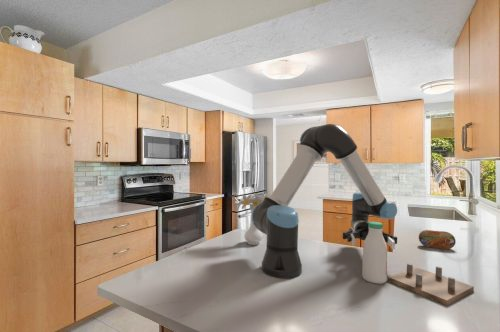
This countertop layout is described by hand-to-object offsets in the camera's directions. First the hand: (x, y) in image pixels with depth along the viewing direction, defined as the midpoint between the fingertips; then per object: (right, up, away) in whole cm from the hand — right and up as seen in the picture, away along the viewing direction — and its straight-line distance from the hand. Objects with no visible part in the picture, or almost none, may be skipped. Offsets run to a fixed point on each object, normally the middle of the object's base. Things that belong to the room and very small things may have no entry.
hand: (373, 243), depth 98 cm
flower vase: (-45, -10, +33) cm, 57 cm away
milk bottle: (-2, -11, -5) cm, 13 cm away
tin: (+46, -12, +33) cm, 58 cm away
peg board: (+14, -11, -10) cm, 21 cm away
